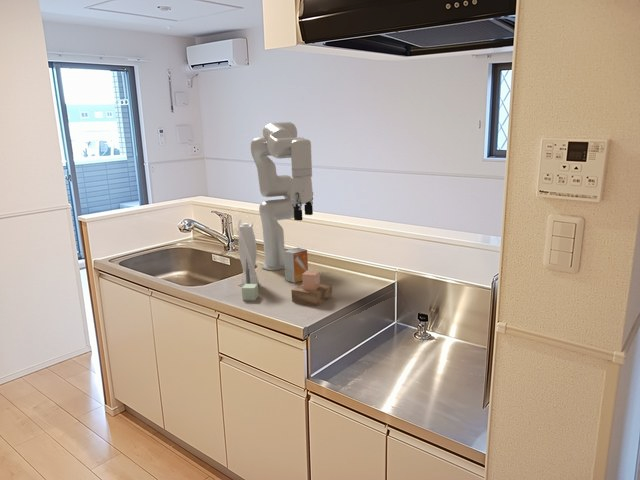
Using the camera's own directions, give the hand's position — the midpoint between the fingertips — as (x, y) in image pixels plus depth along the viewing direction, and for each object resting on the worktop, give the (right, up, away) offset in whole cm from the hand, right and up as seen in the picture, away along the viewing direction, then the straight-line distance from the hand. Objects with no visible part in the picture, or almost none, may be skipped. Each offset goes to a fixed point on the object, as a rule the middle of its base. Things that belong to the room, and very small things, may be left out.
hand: (303, 217), depth 193 cm
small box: (-4, -26, +24) cm, 35 cm away
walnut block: (+3, -32, -1) cm, 32 cm away
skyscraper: (-23, -28, +20) cm, 42 cm away
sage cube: (-21, -31, +3) cm, 38 cm away
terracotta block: (+3, -27, -2) cm, 27 cm away
